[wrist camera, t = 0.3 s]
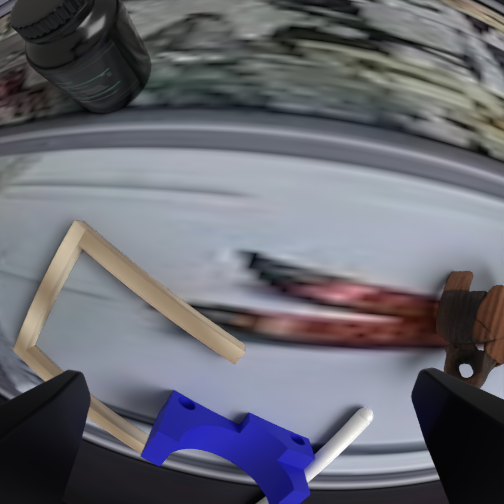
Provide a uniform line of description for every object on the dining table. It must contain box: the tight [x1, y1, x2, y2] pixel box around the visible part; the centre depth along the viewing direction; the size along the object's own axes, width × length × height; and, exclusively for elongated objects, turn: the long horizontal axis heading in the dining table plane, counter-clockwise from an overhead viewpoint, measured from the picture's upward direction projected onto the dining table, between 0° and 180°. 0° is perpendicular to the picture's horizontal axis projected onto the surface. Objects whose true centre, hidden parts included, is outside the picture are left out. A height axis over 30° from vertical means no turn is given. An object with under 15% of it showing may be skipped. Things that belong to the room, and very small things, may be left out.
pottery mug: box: [436, 271, 504, 389], centre depth 21 cm, size 12×10×8 cm
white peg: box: [256, 408, 373, 504], centre depth 22 cm, size 16×2×2 cm, turn 143°
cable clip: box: [141, 390, 315, 504], centre depth 20 cm, size 12×4×6 cm, turn 57°
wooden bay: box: [14, 220, 245, 453], centre depth 21 cm, size 13×15×2 cm
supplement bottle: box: [9, 0, 151, 113], centre depth 15 cm, size 7×7×12 cm
